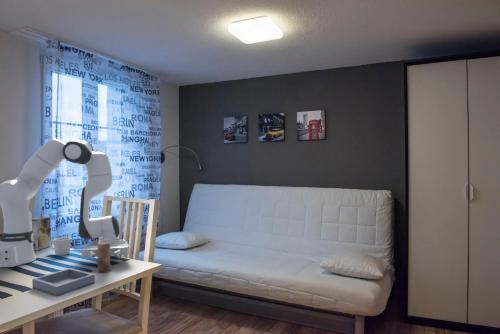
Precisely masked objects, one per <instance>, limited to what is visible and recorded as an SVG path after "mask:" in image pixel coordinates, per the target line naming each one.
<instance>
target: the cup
mask: <svg viewBox="0 0 500 334" xmlns="http://www.w3.org/2000/svg"><path fill="white" fill-rule="evenodd" d="M71 243H72V238H71V237H70V236H61V237H55V238H54V239H52V240H51V242H50V246H49V249H51V250H53V251H54V254H55V255H56V256H66V255H68V254H69V253H70V251H71Z"/></svg>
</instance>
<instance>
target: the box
mask: <svg viewBox="0 0 500 334" xmlns="http://www.w3.org/2000/svg"><path fill="white" fill-rule="evenodd" d="M95 277H96V276H95V273H91V272H88V271H84V270H80V269H76V268H73V267H69V268H65V269H63V270H62V269H61V270H58V271H55V272H51V273H49V274H48V273H47V274H45V275H42V276H38V277H34V278H32V282H31V283H32V289H34V290H36V291H40V292H43V293H46V294H47V295H51V296H54V297H60V296H62V295H65V294H68V293H71V292H73V291H76V290H79V289H82V288H85V287H87V286H90V285H94V284H95Z"/></svg>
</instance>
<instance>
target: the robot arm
mask: <svg viewBox="0 0 500 334" xmlns="http://www.w3.org/2000/svg"><path fill="white" fill-rule="evenodd" d="M64 160H66V161H67V162H69V163H72V164H73V163H74V164H78V165H84V166H85V168H86V173H87V182H86V185H85V186H84V187H82V189H81V193H80V205H79V207H80V210H79V222H78V227H77V233H78V236H79V238H81V239H82V240H85V241H88V240H92V239H96V238H100V239H99V241H98V244H99V243H110V257H112V256H114V257H118V256H124V255H130V245H129V243H128V241H127V240H126V239H120V238H119V235H120V232H121V231H120V230H121V229H120V223H119V220H118V219H117V218H116V217H115V216H114V215H107V216H100V217H92V218H90V206H91V205H90V203H91V201H92V200H93V199H94V198H95V197H97V196H99V195H101V194H103V193H105V192H107V191H108V190H109V189H110V188H111V187H112V185H113V175H112V174H113V172H112V167H111V163H110V160H109V157H108V155H107V154H106V153H104V152H100V151H94V147H93V145H92V144H91V143H90V142H89V141H87V140H84V139H75V140H74V139H73V140H72V139H71V140H70V141H68V142H66V143H65V142H64V141H62V140H60V139H58V138H51V139H49V140H48V141H46V142H45V143H44V144H42V145H41V146H40V147H39V148H38V149H37V150H36V151H35V152H34V153H33V154H32V156H30V157H29V159H28V160H27V161H26V162H25V163H24V165H23V168H22V169H21V172H20V173H19V174H18V176H17V177H16V178H13V179H9V180H5V181H3V182H1V183H0V208H1V211H2V216H3V217H2V218H3V231H2V232H1V233H0V268H12V267H17V266H19V265H24V264H28V263H31V262H33V261H35V260H36V259H37V257H36V253H35V250H34V249H33V230H32V219H33V217H32V216H33V214H32V212H31V211H30V209H29V205H28V200H30V199H31V200H32V198H34V197H35V196H36V195H37V193H38V191H39V189H40V188H41V186H42V185H43V184H44V182H45V180H46V179H47V178H48V177H49V176H50V175H51V173H52V172H53V171H54V170H55V169H56V168H57V167H58V166H59V165H60V164H61V163H62V162H63V161H64ZM98 244H97V245H95V244H94V245H87V246H84V247H83V248H82V249H81V258H91V259H92V258H93V259H94V258H98Z"/></svg>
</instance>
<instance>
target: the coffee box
mask: <svg viewBox="0 0 500 334" xmlns="http://www.w3.org/2000/svg"><path fill="white" fill-rule="evenodd" d="M51 229H52V228H51V217H49V216H47V217H46V216H39V217H35V218H32V230H33V249H34V251H39V250H42V249H45V248H48V247H49V248H50V242H51V241H52V239H51V235H52V234H51V233H52V232H51V231H52V230H51Z"/></svg>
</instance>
